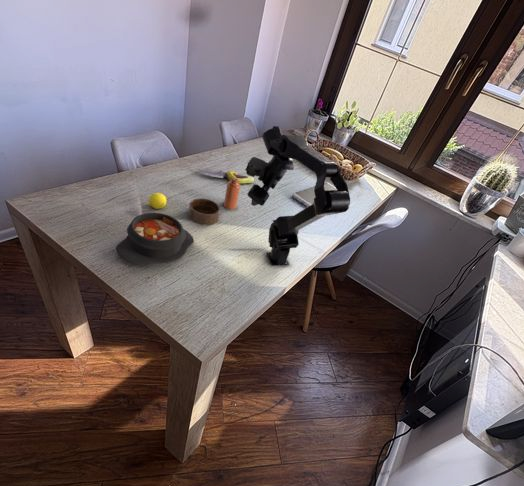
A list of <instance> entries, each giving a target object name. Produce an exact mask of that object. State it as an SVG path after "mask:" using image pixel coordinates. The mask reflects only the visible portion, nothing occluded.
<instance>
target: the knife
mask: <svg viewBox="0 0 524 486" xmlns="http://www.w3.org/2000/svg"><path fill="white" fill-rule="evenodd" d="M196 170H197V171H198V172H200V173H202V174H204V175H207V176H210V177H213V178H214V177H215V178H220V179H224V177H226V178H227V180H229V181H231V180H232V178H237V179H238V183H239V184H251V183H254V181H255V179H254V177H252V176H249V175H241V174H238V173H237V171H234V170H228V171H223V170H219V171H209V170H204V169H201V168H198V167H196Z"/></svg>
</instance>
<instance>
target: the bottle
mask: <svg viewBox="0 0 524 486" xmlns="http://www.w3.org/2000/svg"><path fill="white" fill-rule="evenodd" d="M240 188H241V183H238V179H237V178H232V180H231V181H230V180H229V181H228V182H227V184H226V190H225V195H224V199H223V206H224V208H226V209H228V210H235V209H236V208H237V204H238V199H239V194H240Z"/></svg>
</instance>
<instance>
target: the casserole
mask: <svg viewBox="0 0 524 486" xmlns="http://www.w3.org/2000/svg"><path fill="white" fill-rule="evenodd" d="M126 233H127V235H126V237H125V238H124V239H123V240H122V241H120V242H119V243H117V244H116V246H115V252H116V254H117V255H118V257H119V258H120V259H121V260H123V261H124V262H126V263H128V264H130V265H132V266H137V267H146V266H150V265H156V264H157V265H158V264H159V265H160V264H168V263H172V262H175V261H178V260H180V259H181V258H182V257H184V256H185V255H186V253H187V252H188V249H189V248H190V247H191V246H192V245H193V244H194V242H195V240H194V237H193V236H192V234H191V233H190V232H189V231H187V230H186V229H185V228H184V227H183V225H182V223H181V222H180V221H179V219H177V218H175V217H173V216H171V215H170V214H165V213H161V212H144V213H142V214H139V215H137V216H135V217H133V219H132V220H131V222H130V223H129V225H128V226H127V229H126Z"/></svg>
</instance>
